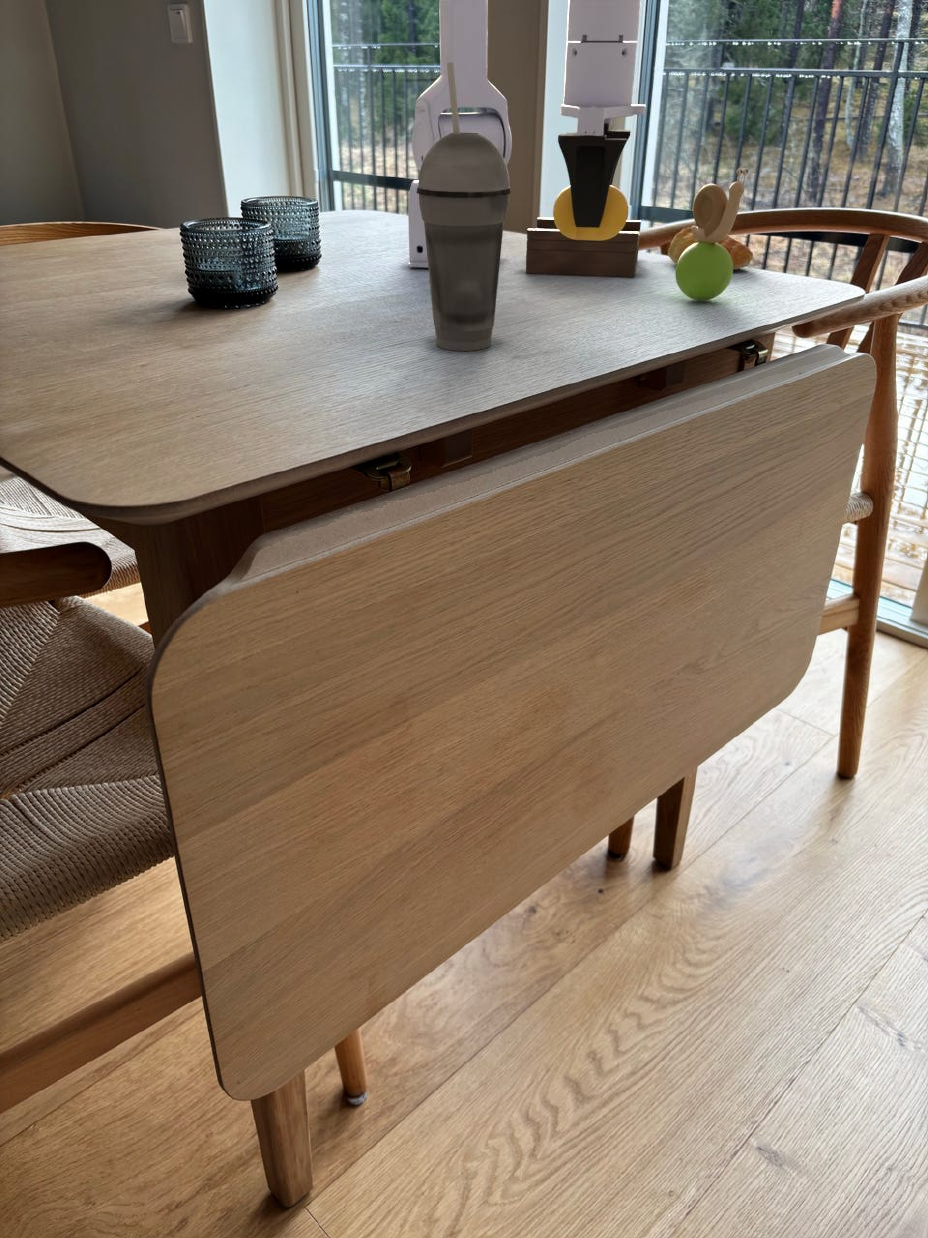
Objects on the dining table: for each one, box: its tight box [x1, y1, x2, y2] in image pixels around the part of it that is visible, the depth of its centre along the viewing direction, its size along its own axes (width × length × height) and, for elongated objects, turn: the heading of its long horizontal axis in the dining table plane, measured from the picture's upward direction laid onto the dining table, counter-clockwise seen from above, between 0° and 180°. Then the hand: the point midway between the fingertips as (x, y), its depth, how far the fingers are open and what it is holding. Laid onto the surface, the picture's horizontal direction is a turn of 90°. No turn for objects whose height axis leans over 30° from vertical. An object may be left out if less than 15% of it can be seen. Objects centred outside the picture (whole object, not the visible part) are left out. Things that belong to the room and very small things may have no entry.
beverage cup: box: [416, 62, 512, 352], centre depth 73 cm, size 7×7×20 cm
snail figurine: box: [674, 167, 749, 302], centre depth 89 cm, size 5×6×12 cm
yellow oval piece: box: [552, 184, 629, 241], centre depth 83 cm, size 7×5×5 cm
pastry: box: [667, 226, 754, 270], centre depth 108 cm, size 9×7×4 cm
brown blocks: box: [525, 217, 642, 278], centre depth 107 cm, size 12×10×4 cm
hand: (589, 222), depth 84 cm, fingers closed on yellow oval piece, 4 cm apart
